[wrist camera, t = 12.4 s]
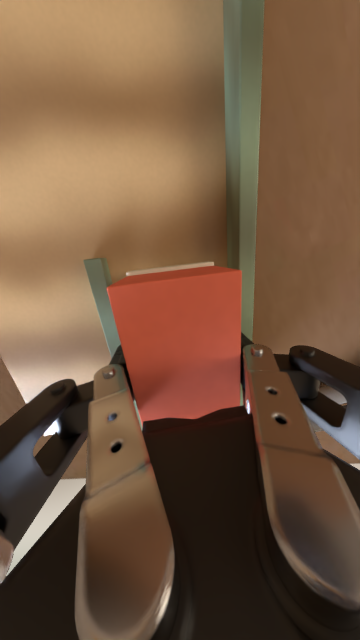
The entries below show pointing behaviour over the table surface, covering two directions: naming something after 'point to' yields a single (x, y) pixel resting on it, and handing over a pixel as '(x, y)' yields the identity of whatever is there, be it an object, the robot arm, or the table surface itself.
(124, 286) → the salmon rectangular box
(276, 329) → the table surface
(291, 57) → the table surface
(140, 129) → the wooden board with rails
